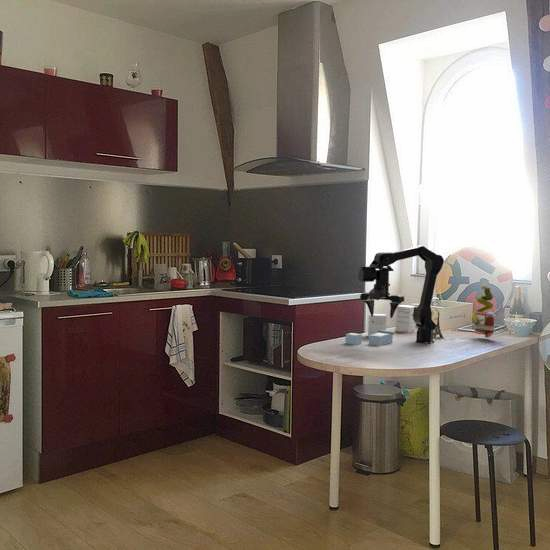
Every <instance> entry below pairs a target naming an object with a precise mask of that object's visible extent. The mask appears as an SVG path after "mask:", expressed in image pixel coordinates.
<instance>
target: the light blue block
mask: <svg viewBox="0 0 550 550" xmlns="http://www.w3.org/2000/svg"><path fill="white" fill-rule="evenodd" d="M344 343H345V344H347V345H354V346H356V345H361V344H362V334H361V333H357V332H356V333H354V332H349V333H346V334H345V342H344Z"/></svg>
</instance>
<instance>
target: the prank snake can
mask: <svg viewBox="0 0 550 550" xmlns="http://www.w3.org/2000/svg"><path fill="white" fill-rule="evenodd" d="M480 289H481V290H484V291H483V292H484V295H478V296H477V297H476V301H477V302H478V303H479V304H481V305H483V306H482V307H479V308H477V309H475V310H474V311H473V312H472V314H471V320H472V322H473V323H474V326H473V327H474V334H477V335H485V336H484V337H485V338H491V336H493V335H494V330H495V325H494V324H495V317H493V316H492V315H490V314H487V313H488V312H487V310H490V309H492V308H494V304H493V303H492V302H490V301H491V300H493V298H494V296H493V294H492V293H491V289H490V287H488V285H483V284H482V285H481V286H480Z"/></svg>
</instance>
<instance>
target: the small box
mask: <svg viewBox="0 0 550 550" xmlns="http://www.w3.org/2000/svg"><path fill="white" fill-rule="evenodd" d="M367 325H368V326H367V337H368V338H369V335H372V334H376V333H380V332H378V330H385V331H387V314H385V313H384V314H383V313H374V314H373V316H371V314H370V313H368V324H367Z"/></svg>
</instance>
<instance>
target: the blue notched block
mask: <svg viewBox="0 0 550 550" xmlns="http://www.w3.org/2000/svg"><path fill="white" fill-rule="evenodd" d="M378 332H380V333H376V334H372V335H369V337H368V345H370V346H371V345H372V346H377V347H380V346H383V345H387V344H391V343H393V340H394V339H393V336H394V335H395V334H396V331H393V330H386V331H385V330H378Z"/></svg>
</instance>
